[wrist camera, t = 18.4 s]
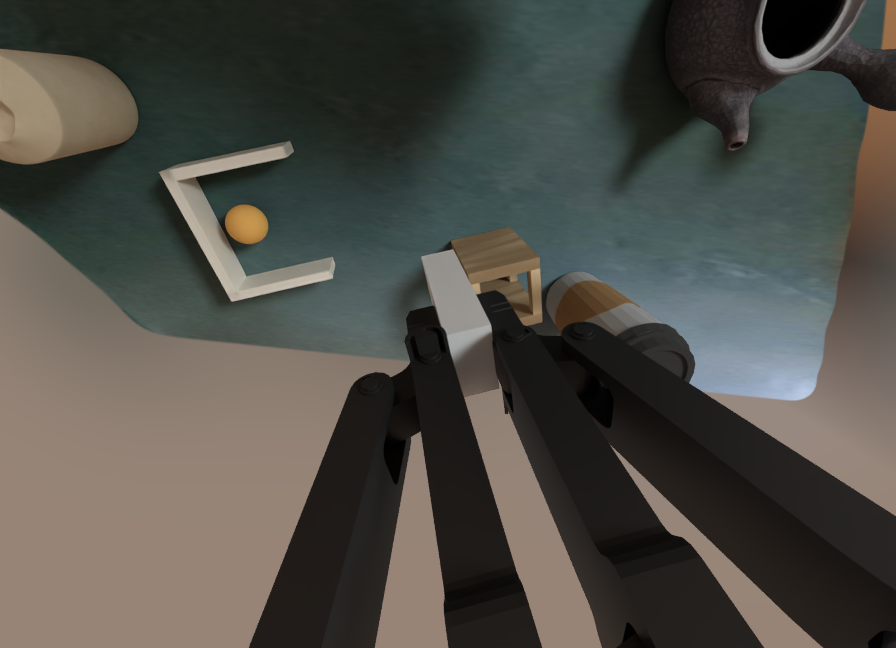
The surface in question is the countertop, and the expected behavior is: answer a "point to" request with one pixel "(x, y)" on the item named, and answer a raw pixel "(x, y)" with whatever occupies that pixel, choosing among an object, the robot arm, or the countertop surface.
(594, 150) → the countertop surface
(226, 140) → the countertop surface
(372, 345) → the countertop surface
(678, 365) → the coffee cup
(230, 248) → the white u-shaped corral
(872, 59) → the teapot
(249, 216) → the ball
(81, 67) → the candle
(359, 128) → the countertop surface
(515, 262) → the wooden cage
